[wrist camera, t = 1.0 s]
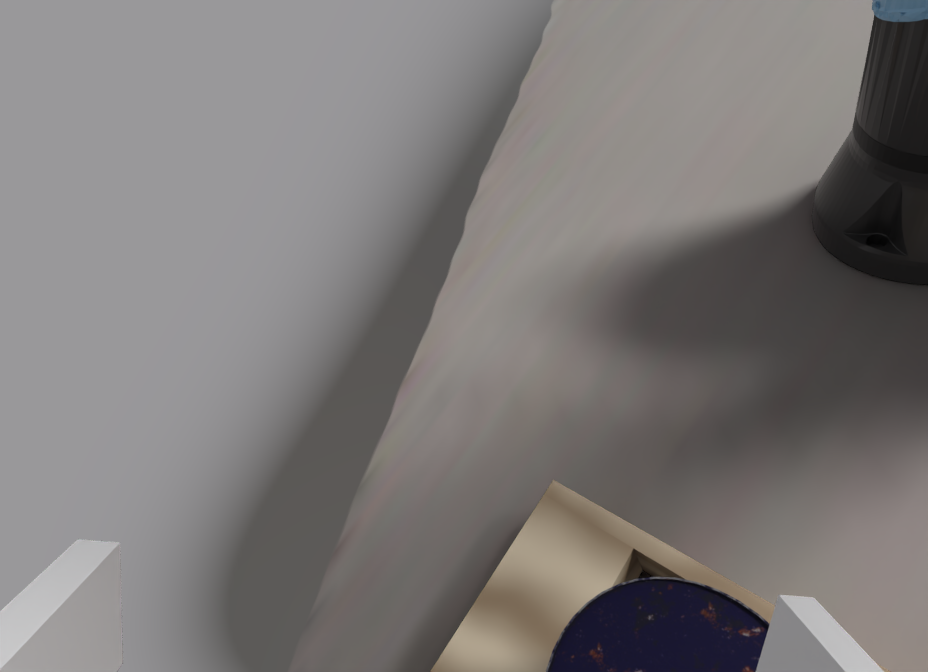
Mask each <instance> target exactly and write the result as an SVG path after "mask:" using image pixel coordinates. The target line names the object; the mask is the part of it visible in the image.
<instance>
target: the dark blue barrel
mask: <svg viewBox="0 0 928 672" xmlns="http://www.w3.org/2000/svg"><path fill="white" fill-rule="evenodd" d="M769 625H770V624H769V623H768V622H767V621H766V620H765V619H764V618H763V617H762V616H761V615H759V614H758V613H756V612H755V611H754V610H752V609H751V608H749V607H748V606H746V605H745V604H744V603H742V602H741V601H739V600H737V599H735V598H734V597H732V596H730V595H728V594H726V593H724V592H722V591H720V590H718V589H715V588H713V587H710V586H707V585H704V584H702V583H699V582H695V581H690V580H685V579H680V578H673V577H648V578H639V579H634V580H631V581H627V582H624V583H620V584H617V585H615V586H613V587H611V588H609V589H607V590H605V591H603V592H601V593H600V594H598V595H597V596H595V597H594V598H593V599H591V600H590V601H588V602H587V603H586V604H585V605H584V606H583V607H582V608H581V609H580V610H579V611H578V612H577V613H576V614H575V615H574V616H573V617H572V618H571V620H570V621H569V623H568V624H567V625H566V627H565V628H564V630H563V631H562V633H561V635H560V637H559V639H558V641H557V643H556V645H555V647H554V649H553V651H552V654H551V657H550V660H549V663H548V666H547V669H546V672H756V669H757V666H758V662H759V659H760V656H761V652H762V649H763V645H764V642H765V639H766V635H767V632H768V629H769Z"/></svg>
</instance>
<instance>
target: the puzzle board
mask: <svg viewBox="0 0 928 672" xmlns="http://www.w3.org/2000/svg"><path fill="white" fill-rule="evenodd" d="M642 570H643V571H645V572H647V573H648V574H650V575H652V576H653V577H673V578H680V579H685V580H690V581H695V582H699V583H702V584H704V585H707V586H710V587H713V588H715V589H718V590H720V591H722V592H724V593H726V594H728V595H730V596H732V597H734V598H735V599H737V600H739V601H741V602H742V603H744V604H745V605H746V606H748V607H749V608H751V609H752V610H754V611H755V612H756V613H758V614H759V615H761V616H762V617H763V618H764V619H765V620H766V621H767V622H768V623H769V624H770V622H771V618H772V615H773V612H774V608H775V605H773V604H771V603H769V602H768V601H766V600H764V599H762V598H761V597H759V596H757V595H755V594H754V593H752V592H750V591H748V590H747V589H745V588H743V587H741V586H739V585H738V584H736V583H734V582H732V581H731V580H729V579H727V578H725V577H724V576H722V575H720V574H718V573H717V572H715V571H713V570H711V569H710V568H708V567H706V566H704V565H702V564H701V563H699V562H697V561H695V560H694V559H692V558H690V557H688V556H687V555H685V554H683V553H681V552H680V551H678V550H676V549H674V548H673V547H671V546H669V545H667V544H666V543H664V542H662V541H660V540H658V539H657V538H655V537H653V536H651V535H650V534H648V533H646V532H644V531H643V530H641V529H639V528H637V527H636V526H634V525H632V524H630V523H629V522H627V521H625V520H623V519H621V518H620V517H618V516H616V515H614V514H613V513H611V512H609V511H607V510H606V509H604V508H602V507H600V506H599V505H597V504H595V503H593V502H592V501H590V500H588V499H586V498H585V497H583V496H581V495H579V494H577V493H576V492H574V491H572V490H570V489H569V488H567V487H565V486H563V485H562V484H560V483H558V482H556V481H555V480H553V481H552V483H551V484H550V486H549V487H548V489H547V490H546V492H545V493H544V495H543V497H542V498H541V500H540V501H539V503H538V504H537V506H536V507H535V509H534V511H533V512H532V514H531V515H530V517H529V518H528V520H527V521H526V523H525V525H524V526H523V528H522V529H521V531H520V532H519V534H518V536H517V537H516V539H515V540H514V542H513V543H512V545H511V546H510V548H509V550H508V551H507V553H506V554H505V556H504V557H503V559H502V560H501V562H500V564H499V565H498V567H497V568H496V570H495V571H494V573H493V574H492V576H491V578H490V579H489V581H488V582H487V584H486V585H485V587H484V588H483V590H482V592H481V593H480V595H479V596H478V598H477V599H476V601H475V603H474V604H473V606H472V607H471V609H470V610H469V612H468V613H467V615H466V617H465V618H464V620H463V621H462V623H461V624H460V626H459V627H458V629H457V631H456V632H455V634H454V635H453V637H452V638H451V640H450V641H449V643H448V645H447V646H446V648H445V649H444V651H443V652H442V654H441V656H440V657H439V659H438V660H437V662H436V663H435V665H434V666H433V668H432V670H431V671H430V672H546V669H547V666H548V663H549V660H550V657H551V654H552V651H553V649H554V647H555V645H556V643H557V641H558V639H559V637H560V635H561V633H562V631H563V630H564V628H565V627H566V625H567V624H568V623H569V621H570V620H571V618H572V617H573V616H574V615H575V614H576V613H577V612H578V611H579V610H580V609H581V608H582V607H583V606H584V605H585V604H586V603H587V602H588V601H590V600H591V599H593V598H594V597H595V596H597V595H598V594H600V593H601V592H603V591H605V590H607V589H609V588H611V587H613V586H615V585H617V584H620V583H624V582H627V581H631V580H634V579H638V577H639V575H640V574H641V572H642ZM876 664H877V663H876ZM877 665H878V666H879V667H880V668H881V669H882V670H883V671H884V672H891V671H889V670H887V669H886V668H884V667H882V666H880V665H879V664H877Z"/></svg>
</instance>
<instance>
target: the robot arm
mask: <svg viewBox="0 0 928 672" xmlns="http://www.w3.org/2000/svg"><path fill="white" fill-rule="evenodd" d="M872 10H873V11H874V20H873V26H872V31H871V37H870V42H869V47H868V53H867V58H866V63H865V67H864V72H863V77H862V82H861V87H860V92H859V97H858V102H857V107H856V113H855V118H854V123H853V128H852V131H851V132H850V134H849V135H848V137H847V138H846V140H845V142H844V143H843V145H842V146H841V148H840V149H839V151H838V153H837V154H836V156H835V157H834V159H833V161H832V162H831V164H830V165H829V167H828V169H827V170H826V172H825V173H824V175H823V176H822V178H821V180H820V182H819V184H818V187H817V189H816V193H815V198H814V205H813V211H812V223H813V228H814V231H815V233H816V235H817V237H818V239H819V240H820V242H821V243H822V244H823V245H824V247H825V248H826V249H827V250H828V251H829V252H830V253H832V254H833V255H834V256H835V257H837V258H838V259H840V260H841V261H843V262H844V263H846V264H848V265H850V266H852V267H854V268H856V269H858V270H860V271H863V272H865V273H868V274H871V275H874V276H877V277H881V278H885V279H889V280H894V281H899V282H906V283H914V284H928V0H873V3H872ZM121 604H122V602H121V563H120V543H118V542H107V541H94V540H93V541H92V540H80V539H78V540H77V541H76V542H75V543H73V544H72V545H71V546H70V547H69V548H68V549H67V550H66V551H65V552H64V553H63V554H61V555H60V556H59V558H57V559H56V560H55V561H54V562H53V563H52V564H51V565H50V566H49V567H48V568H46V569H45V570H44V571H43V572H42V573H41V574H40V575H39V576H38V577H37V578H36V579H35V580H33V581H32V582H31V583H30V584H29V585H28V586H27V587H26V588H25V589H24V590H23V591H22V592H21V593H20V594H18V595H17V596H16V597H15V598H14V599H13V600H12V601H11V602H10V603H9V604H8V605H7V606H5V608H3V609H2V610H1V611H0V672H117V671H118V670H119V668H120V667H121V665H122V664H123V643H122V605H121ZM756 672H884V671H883V670H882V669H881V668H880V667H879V666H878V665H877V664H876V663H875V662H874V660H873V659H872V658H871V657H870V656H869V655H868V654H867V653H866V652H865V651H864V650H863V649H862V648H861V647H860V646H859V645H858V644H857V643H856V642H855V640H854V639H853V638H852V637H851V636H850V635H849V634H848V633H847V632H846V631H845V630H844V629H843V628H842V627H841V626H840V625H839V624H838V623H837V622H836V620H835V619H834V618H833V617H832V616H831V615H830V614H829V613H828V612H827V611H826V610H825V609H824V608H823V607H822V606H821V605H820V604H819V603H818V602H817V600H816V599H815V598H814V597H802V596H789V595H778V598H777V602H776V605H775V608H774V612H773V615H772V618H771V622H770V625H769V629H768V632H767V635H766V639H765V642H764V645H763V649H762V652H761V656H760V659H759V662H758V666H757V669H756Z"/></svg>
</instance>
